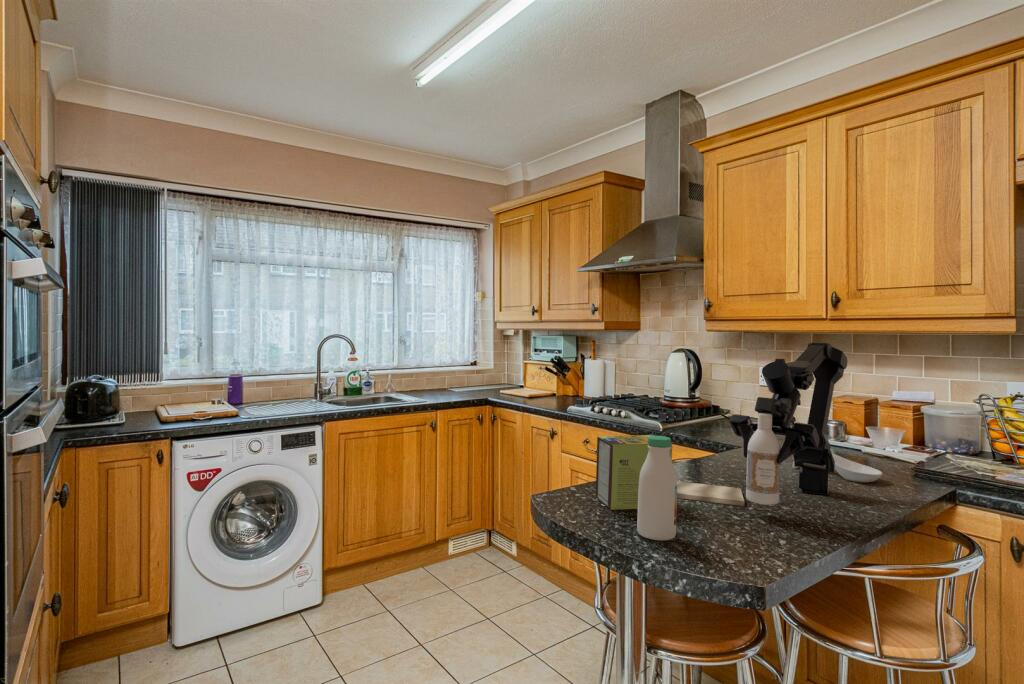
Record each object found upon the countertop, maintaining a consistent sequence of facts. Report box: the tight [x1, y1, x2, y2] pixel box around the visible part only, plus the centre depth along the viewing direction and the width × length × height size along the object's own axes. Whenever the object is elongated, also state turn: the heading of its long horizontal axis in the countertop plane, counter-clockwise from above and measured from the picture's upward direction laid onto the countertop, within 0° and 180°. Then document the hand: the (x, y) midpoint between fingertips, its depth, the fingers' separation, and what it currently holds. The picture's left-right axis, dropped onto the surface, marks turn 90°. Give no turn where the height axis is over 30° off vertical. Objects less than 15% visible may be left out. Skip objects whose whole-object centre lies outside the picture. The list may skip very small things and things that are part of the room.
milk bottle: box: [636, 435, 678, 542], centre depth 111 cm, size 8×8×20 cm
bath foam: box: [745, 412, 782, 506], centre depth 124 cm, size 7×7×20 cm
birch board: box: [677, 480, 746, 507], centre depth 140 cm, size 16×12×1 cm
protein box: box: [595, 434, 673, 511], centre depth 132 cm, size 10×15×16 cm
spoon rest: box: [791, 452, 883, 484], centre depth 165 cm, size 24×12×7 cm, turn 42°
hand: (761, 459), depth 123 cm, fingers closed on bath foam, 7 cm apart
